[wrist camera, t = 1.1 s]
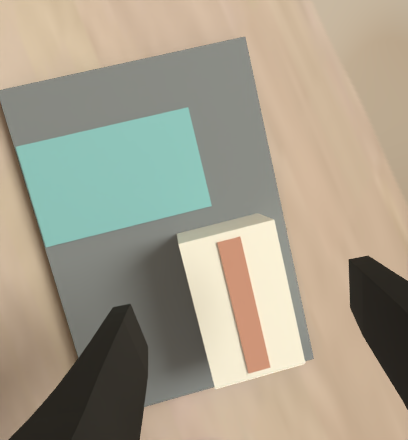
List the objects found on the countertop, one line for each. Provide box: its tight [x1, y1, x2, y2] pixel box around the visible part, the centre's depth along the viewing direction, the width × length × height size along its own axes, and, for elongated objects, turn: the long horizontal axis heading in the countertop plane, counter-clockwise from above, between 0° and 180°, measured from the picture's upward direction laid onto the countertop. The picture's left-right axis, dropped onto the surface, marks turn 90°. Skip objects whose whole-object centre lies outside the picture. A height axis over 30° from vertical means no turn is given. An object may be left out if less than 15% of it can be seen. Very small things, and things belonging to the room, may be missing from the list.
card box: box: [177, 213, 305, 389], centre depth 21 cm, size 8×5×4 cm, turn 14°
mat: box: [0, 37, 314, 407], centre depth 22 cm, size 20×14×1 cm
